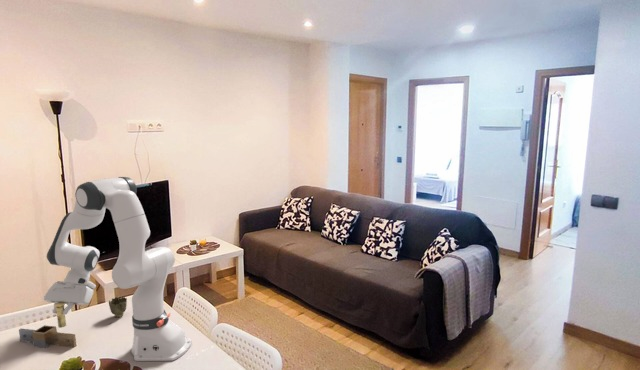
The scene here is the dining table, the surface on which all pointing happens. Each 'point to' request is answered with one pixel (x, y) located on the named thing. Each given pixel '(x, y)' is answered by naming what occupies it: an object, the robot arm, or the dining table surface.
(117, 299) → the cup
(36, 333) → the hinge
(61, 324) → the hinge pin
